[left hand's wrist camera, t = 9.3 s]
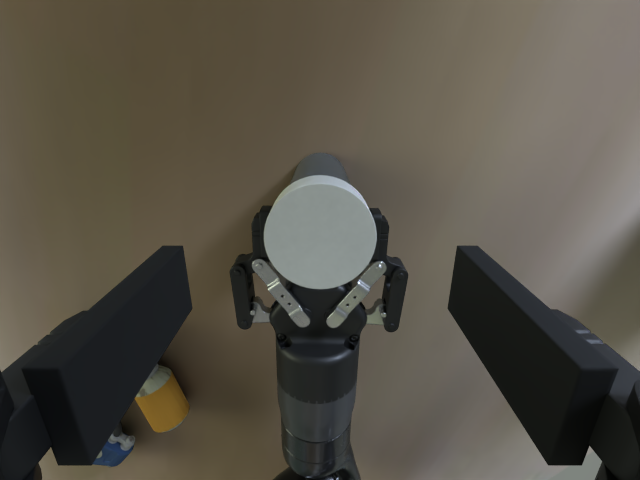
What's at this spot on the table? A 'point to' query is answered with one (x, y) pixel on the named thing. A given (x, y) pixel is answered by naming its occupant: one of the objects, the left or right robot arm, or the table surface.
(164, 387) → the spray gun
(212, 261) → the table surface
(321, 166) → the bottle
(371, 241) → the lid
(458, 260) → the left robot arm
